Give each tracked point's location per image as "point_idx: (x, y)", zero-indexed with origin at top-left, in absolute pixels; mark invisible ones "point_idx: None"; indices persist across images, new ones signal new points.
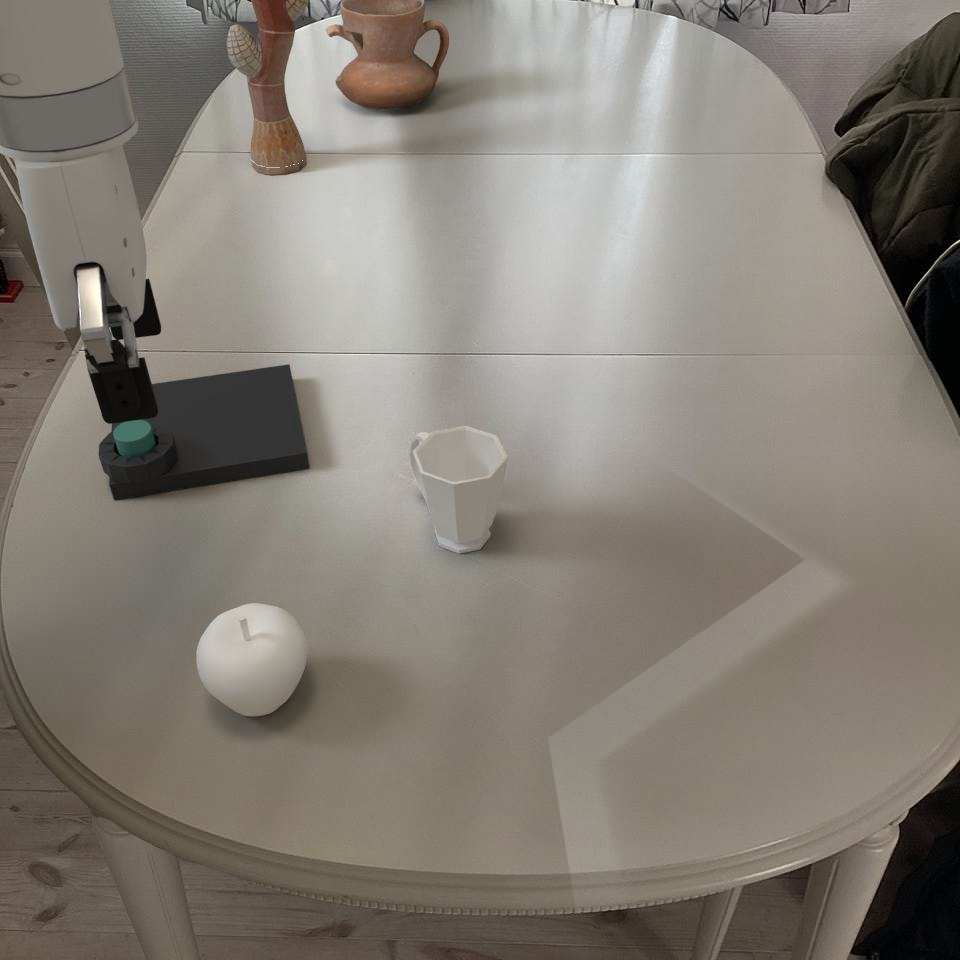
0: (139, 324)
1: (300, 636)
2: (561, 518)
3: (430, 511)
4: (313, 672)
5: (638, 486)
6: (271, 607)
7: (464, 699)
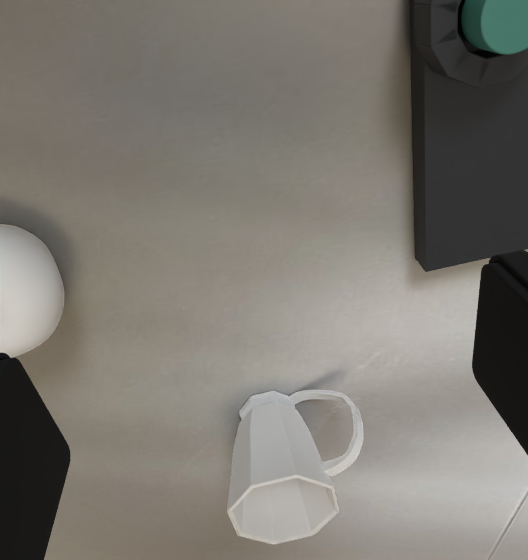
0: (500, 364)
1: None
2: None
3: (250, 435)
4: None
5: None
6: (26, 338)
7: None
